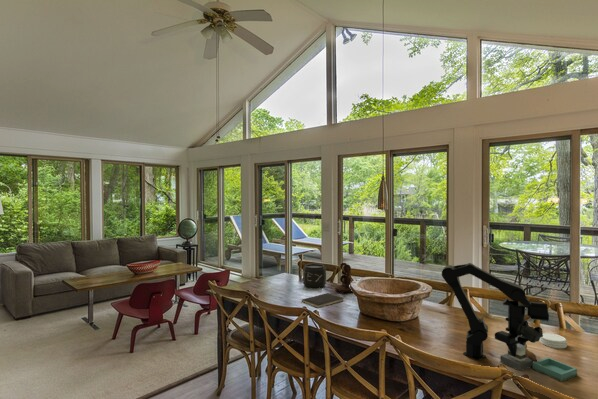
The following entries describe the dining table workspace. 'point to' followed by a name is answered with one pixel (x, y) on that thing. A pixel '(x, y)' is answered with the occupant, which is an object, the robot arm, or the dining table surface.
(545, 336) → the coaster
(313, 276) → the lettered dark canister
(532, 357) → the hand bell
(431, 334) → the dining table surface
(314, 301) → the hardcover book
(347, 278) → the brown carved figurine
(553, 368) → the parts tray
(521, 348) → the block
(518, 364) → the socket block
